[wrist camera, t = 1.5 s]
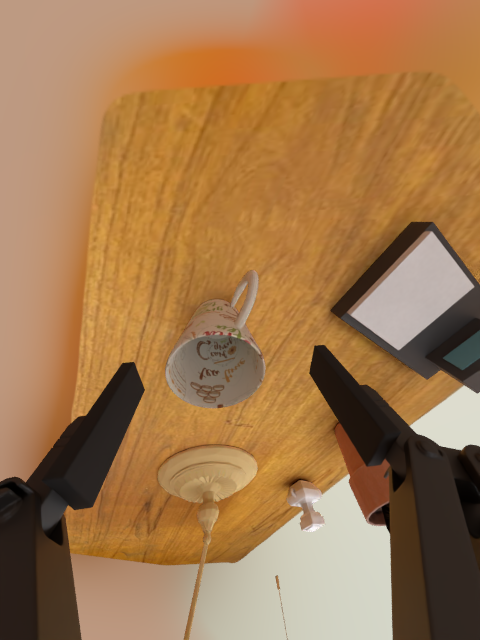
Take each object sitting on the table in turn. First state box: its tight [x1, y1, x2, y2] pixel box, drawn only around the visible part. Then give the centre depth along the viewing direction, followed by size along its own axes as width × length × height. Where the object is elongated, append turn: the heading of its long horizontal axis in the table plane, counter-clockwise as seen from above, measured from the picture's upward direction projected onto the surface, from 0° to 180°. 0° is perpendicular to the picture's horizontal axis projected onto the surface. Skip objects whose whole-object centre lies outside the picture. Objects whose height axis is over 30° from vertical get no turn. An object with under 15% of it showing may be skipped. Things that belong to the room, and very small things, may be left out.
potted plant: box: [334, 422, 390, 533], centre depth 29 cm, size 14×14×25 cm
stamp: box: [286, 480, 325, 531], centre depth 46 cm, size 9×7×8 cm
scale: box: [330, 222, 480, 393], centre depth 24 cm, size 23×13×7 cm, turn 56°
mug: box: [165, 270, 265, 408], centre depth 19 cm, size 8×13×10 cm, turn 155°
